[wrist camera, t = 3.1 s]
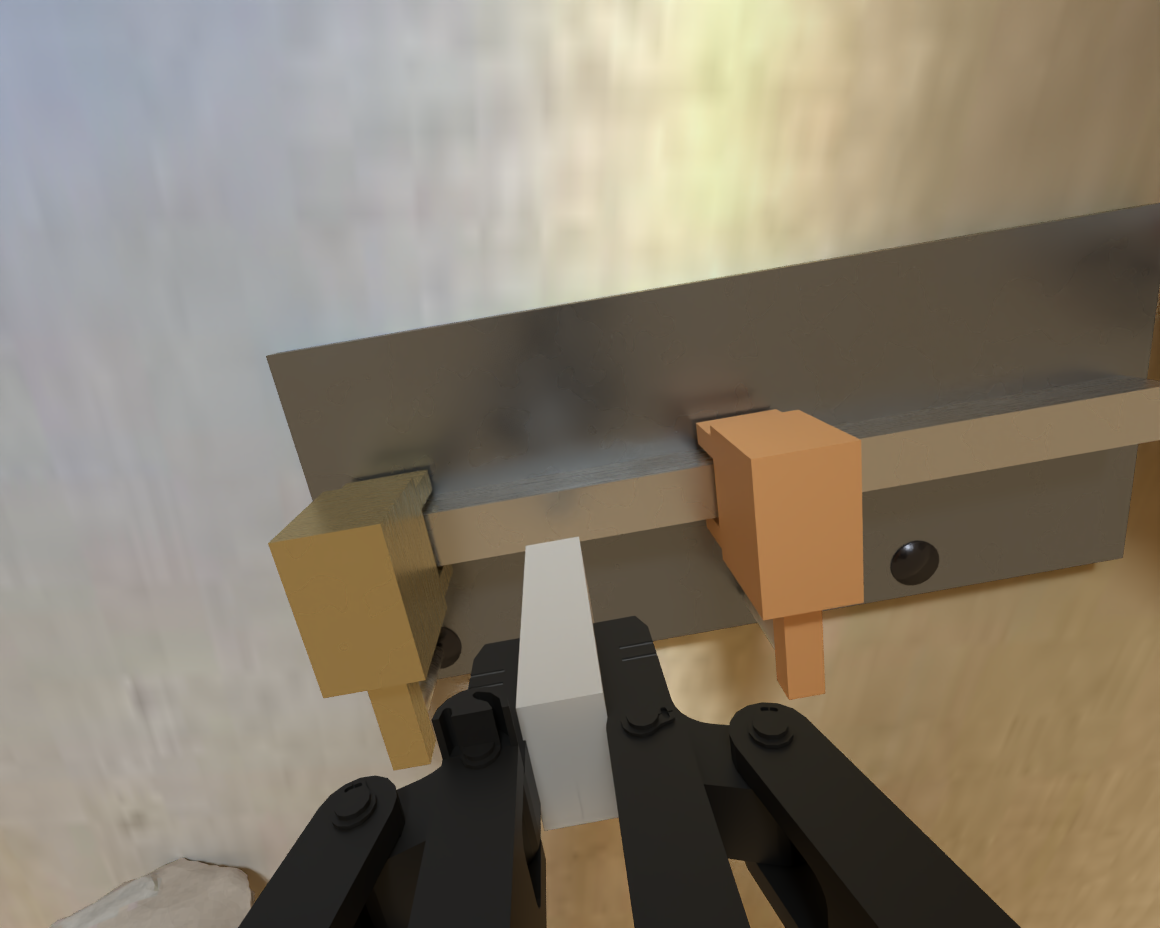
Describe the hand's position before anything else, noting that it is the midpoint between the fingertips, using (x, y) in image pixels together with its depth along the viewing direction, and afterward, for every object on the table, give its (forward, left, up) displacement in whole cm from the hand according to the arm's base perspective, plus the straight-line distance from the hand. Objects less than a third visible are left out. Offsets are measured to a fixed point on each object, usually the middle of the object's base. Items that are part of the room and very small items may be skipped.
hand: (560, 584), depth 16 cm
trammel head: (+2, +7, -6) cm, 9 cm away
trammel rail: (+2, +7, -6) cm, 10 cm away
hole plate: (0, +7, -7) cm, 10 cm away
